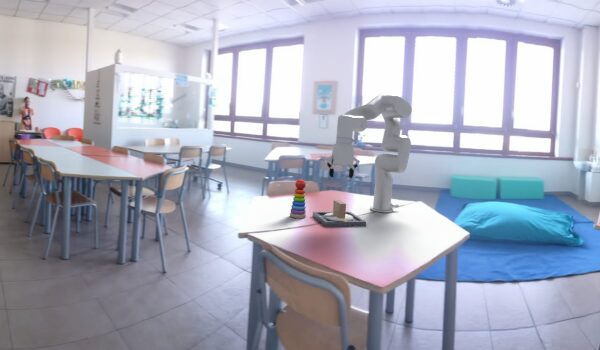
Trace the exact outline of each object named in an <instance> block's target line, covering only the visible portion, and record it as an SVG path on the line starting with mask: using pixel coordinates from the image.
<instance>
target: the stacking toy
mask: <svg viewBox="0 0 600 350" xmlns="http://www.w3.org/2000/svg"><path fill="white" fill-rule="evenodd" d="M294 185H295V189H294V193H293V200H292V205H291V208H290V213H289V216H290V217H291V218H294V219H305V218H306V217H307V216H306V212H307V210H306V198H305V197H306V190H305V188H306V181H305V180H304V179H301V178H299V179H298V180H296V181H295V184H294Z"/></svg>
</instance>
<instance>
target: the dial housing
mask: <svg viewBox="0 0 600 350" xmlns="http://www.w3.org/2000/svg"><path fill="white" fill-rule="evenodd" d="M327 213H333V211H312V217H313V218H314V219H316V220H317V222H319V223H320V224H321V225H323V226H324V227H325V228H333V227H334V228H335V227H336V228H338V227H340V228H341V227H342V228H343V227H344V228H345V227H348V228H349V227H366V226H367V220H365V219H363V218H361V217H359V216H358V215H356V214H354V213H353V212H352V211H346V213H345V214H348V215H351V216H353V220H352V221H331V220H327V219H325V218H324V215H325V214H327Z"/></svg>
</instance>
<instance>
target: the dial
mask: <svg viewBox="0 0 600 350" xmlns="http://www.w3.org/2000/svg"><path fill="white" fill-rule="evenodd" d="M332 206H333V207H332V212H333V213H327V214H325V215H324V218H325V219H327V220H331V221H352V220H353V216H351V215H348V214H345V213H346V212H347V203H346V202H344V201H341V200H340V199H334V200H333V205H332Z"/></svg>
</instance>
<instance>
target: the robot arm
mask: <svg viewBox="0 0 600 350" xmlns="http://www.w3.org/2000/svg"><path fill="white" fill-rule="evenodd" d="M412 111H413V110H412V105H411V103H410V102H409V101H408V100H406V99H405V98H404V97H402V96H401V95H399V94H396V93H390V94H389V93H383V94H378V95H376V96H375V97H373V98H372V99H371V100H370V101H368V102H367V103H366V104H364V105H360V106H357V107H355V108H352V109H350V110H348V111H346V112H344V113H343V114H340V115H339V116H338V117H337V126H336V138H335V143H333V146H332V152H331V155H329V157H326V158H324V161H325V163H326V166H327V167H328V169H329V172H328V175H329V177H330V178H334V176H335V175H334V172H335V168H334V167H335V166H347V167H349V171H348V178H349V179H353V177H354V172H355V170H356V168H358V166H359V165H360V162H361V161H360V160H359V159H358V158H356V157H355V156H354V153H355V152H354V151H355V150H354V145H353V144H354V143H355V142H356V140H355V139H353V135H354V133H355V132H356V133H357V132H359V133H360V132H361V133H362V132H363V131H365V130H366V129H367V127H368V121H371V120H374V119H376V118H378V117H379V116H380V115H381V116H382V117H383V120H384V121H383V122H384V125H385V126H384V132H383V136H382V142H381V149H382V150H383V151H384V152H387V153H380V154H378V155H377V156H376V157H375V158H374V159H375V160H374V166H375V167H374V168H375V179H374V189H373V190H374V195H373V204H372V206H370V207H369V208H370V211H373V212H375V213H385V214H387V213H389V214H390V213H393V212H394V208H399V207H400V205H399V204H398V203H393V202H392V196H393V195H392V193H393V184H394V183H393V182H394V179H393V175H392V173H395V174H403V173H405V171H406V170H407V167H408V163H409V159H410V158H409V157H410V153H411V149H412V141H411V139H410V137H408V136H407V135H401V131H402V130H401V129H402V126H401V123H400V121H399V119H406V118H407V119H408V118H409V117H410V116H411V114H412ZM388 153H390V154H388ZM391 153H394V154H391ZM395 153H396V154H395ZM354 162H355V163H354Z"/></svg>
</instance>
